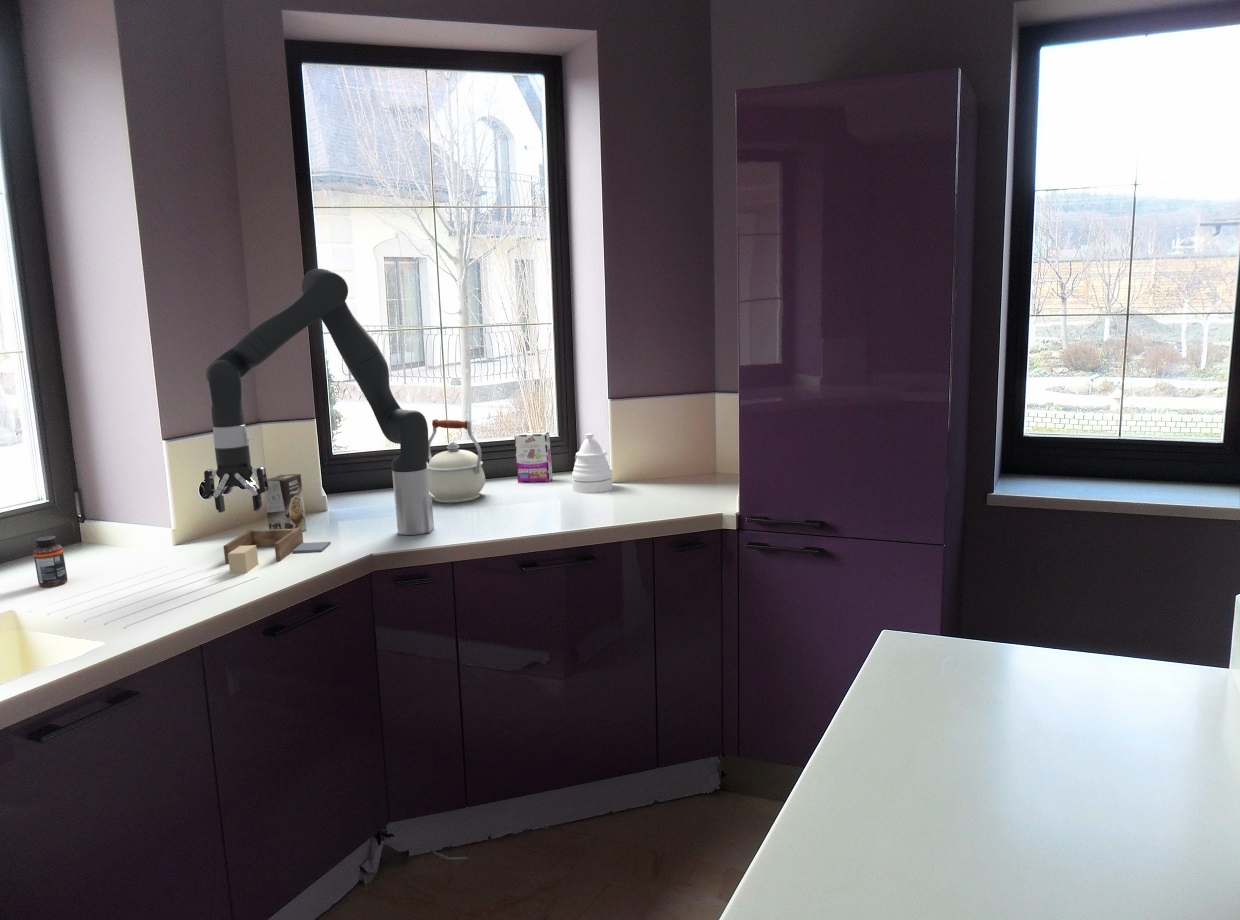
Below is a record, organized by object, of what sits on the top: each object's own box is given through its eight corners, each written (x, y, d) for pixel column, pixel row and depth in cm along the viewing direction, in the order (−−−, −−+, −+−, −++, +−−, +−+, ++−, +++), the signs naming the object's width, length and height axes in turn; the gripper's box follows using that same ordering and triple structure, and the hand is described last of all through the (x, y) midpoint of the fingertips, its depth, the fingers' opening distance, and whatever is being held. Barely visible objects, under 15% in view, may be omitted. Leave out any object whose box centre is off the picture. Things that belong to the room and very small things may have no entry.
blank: (258, 564, 229) (256, 545, 228) (247, 573, 222) (244, 553, 221) (242, 565, 229) (239, 545, 228) (230, 574, 222) (227, 553, 221)
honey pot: (612, 492, 292) (609, 435, 289) (571, 493, 293) (568, 437, 289) (613, 483, 305) (610, 429, 302) (573, 485, 305) (570, 431, 302)
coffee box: (290, 538, 253) (283, 480, 250) (268, 538, 254) (262, 480, 252) (307, 529, 262) (301, 473, 259) (287, 529, 263) (280, 473, 260)
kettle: (502, 494, 296) (497, 417, 292) (463, 507, 281) (457, 425, 277) (444, 489, 309) (438, 414, 305) (404, 500, 294) (396, 422, 290)
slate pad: (330, 543, 245) (330, 541, 245) (321, 551, 238) (321, 549, 237) (302, 545, 245) (302, 542, 245) (292, 553, 238) (292, 550, 238)
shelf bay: (303, 543, 247) (301, 526, 246) (280, 561, 231) (278, 543, 230) (252, 545, 247) (250, 529, 247) (225, 563, 231) (223, 546, 230)
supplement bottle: (47, 581, 223) (39, 535, 221) (73, 579, 223) (65, 533, 221) (33, 589, 217) (25, 541, 215) (60, 587, 217) (52, 540, 215)
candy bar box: (553, 479, 317) (550, 431, 314) (549, 482, 312) (546, 433, 309) (521, 479, 319) (517, 432, 316) (517, 482, 314) (513, 434, 311)
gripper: (194, 448, 218) (203, 516, 221) (255, 445, 218) (263, 513, 220) (208, 443, 225) (216, 508, 228) (267, 440, 225) (274, 506, 228)
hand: (239, 511), depth 224 cm, fingers open, 8 cm apart
